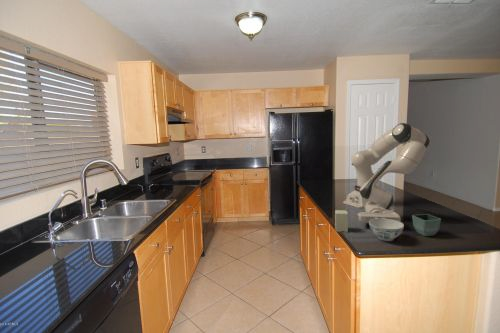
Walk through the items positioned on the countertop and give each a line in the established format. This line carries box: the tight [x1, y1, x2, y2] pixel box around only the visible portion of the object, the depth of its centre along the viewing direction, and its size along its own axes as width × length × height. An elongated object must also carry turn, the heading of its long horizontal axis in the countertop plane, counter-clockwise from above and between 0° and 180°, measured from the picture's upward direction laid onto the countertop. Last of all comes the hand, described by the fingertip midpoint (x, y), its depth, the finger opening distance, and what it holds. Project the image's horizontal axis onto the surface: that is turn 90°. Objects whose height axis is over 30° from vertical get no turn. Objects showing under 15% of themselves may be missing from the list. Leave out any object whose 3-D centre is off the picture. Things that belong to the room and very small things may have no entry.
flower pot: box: [411, 213, 442, 237], centre depth 127 cm, size 9×9×9 cm
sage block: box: [334, 209, 349, 233], centre depth 138 cm, size 6×6×10 cm
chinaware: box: [368, 218, 405, 242], centre depth 124 cm, size 15×15×8 cm
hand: (381, 222), depth 131 cm, fingers closed, pressing on chinaware
